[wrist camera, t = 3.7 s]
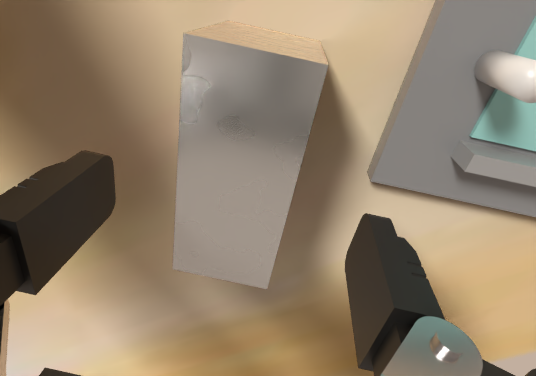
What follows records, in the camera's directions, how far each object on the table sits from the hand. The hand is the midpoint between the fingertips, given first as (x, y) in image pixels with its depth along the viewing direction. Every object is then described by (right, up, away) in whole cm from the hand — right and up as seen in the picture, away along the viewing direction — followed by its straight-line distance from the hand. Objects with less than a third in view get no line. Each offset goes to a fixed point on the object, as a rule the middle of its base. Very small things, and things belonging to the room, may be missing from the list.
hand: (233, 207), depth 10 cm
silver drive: (+1, +4, +6) cm, 7 cm away
